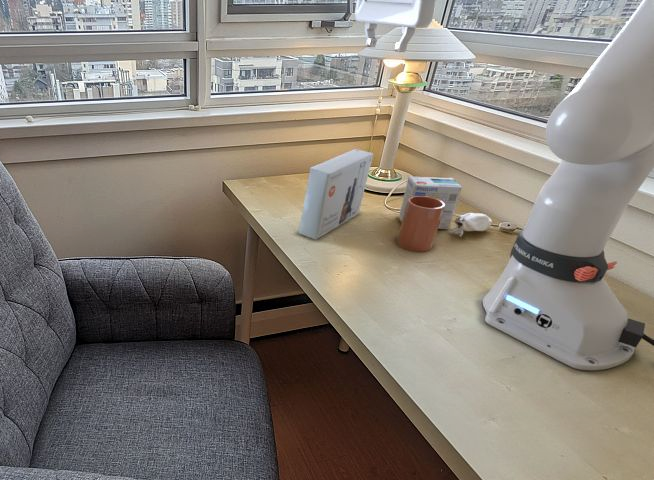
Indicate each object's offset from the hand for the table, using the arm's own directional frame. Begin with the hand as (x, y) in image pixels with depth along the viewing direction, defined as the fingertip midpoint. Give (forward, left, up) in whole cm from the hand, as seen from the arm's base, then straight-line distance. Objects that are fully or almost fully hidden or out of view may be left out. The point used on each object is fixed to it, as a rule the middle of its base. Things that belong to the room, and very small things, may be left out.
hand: (384, 49), depth 103 cm
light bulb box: (-13, -11, -37) cm, 41 cm away
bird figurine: (-21, -18, -37) cm, 46 cm away
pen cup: (-21, -1, -37) cm, 43 cm away
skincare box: (-5, +10, -37) cm, 39 cm away
